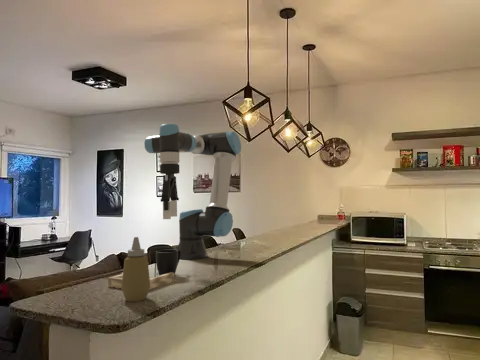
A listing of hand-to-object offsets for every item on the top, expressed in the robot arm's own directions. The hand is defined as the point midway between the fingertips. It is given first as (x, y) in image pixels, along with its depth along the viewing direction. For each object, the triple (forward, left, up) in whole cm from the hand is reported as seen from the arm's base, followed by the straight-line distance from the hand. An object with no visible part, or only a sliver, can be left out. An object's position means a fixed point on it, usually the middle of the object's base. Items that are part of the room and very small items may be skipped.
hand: (170, 217), depth 142 cm
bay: (+17, +2, -22) cm, 27 cm away
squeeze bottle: (+33, +14, -22) cm, 42 cm away
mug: (+3, +2, -22) cm, 22 cm away
